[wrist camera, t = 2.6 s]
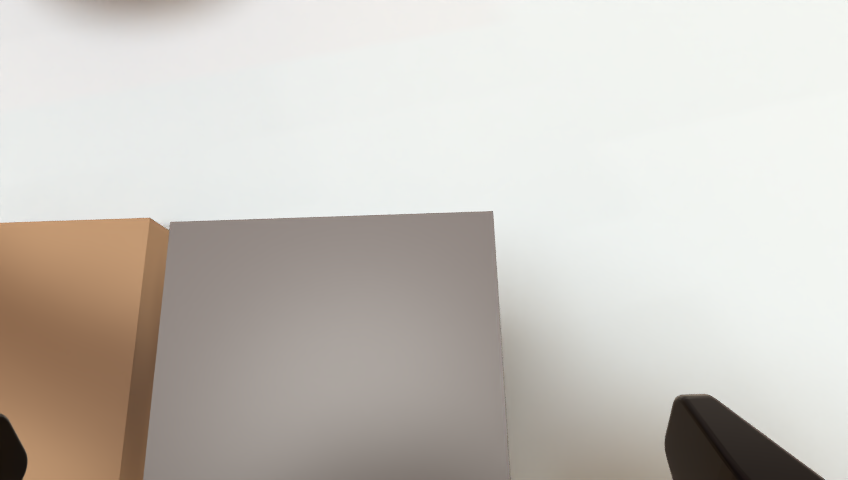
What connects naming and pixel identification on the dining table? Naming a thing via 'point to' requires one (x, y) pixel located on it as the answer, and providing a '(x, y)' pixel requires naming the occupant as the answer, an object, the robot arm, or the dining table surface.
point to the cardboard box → (80, 343)
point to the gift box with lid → (330, 351)
